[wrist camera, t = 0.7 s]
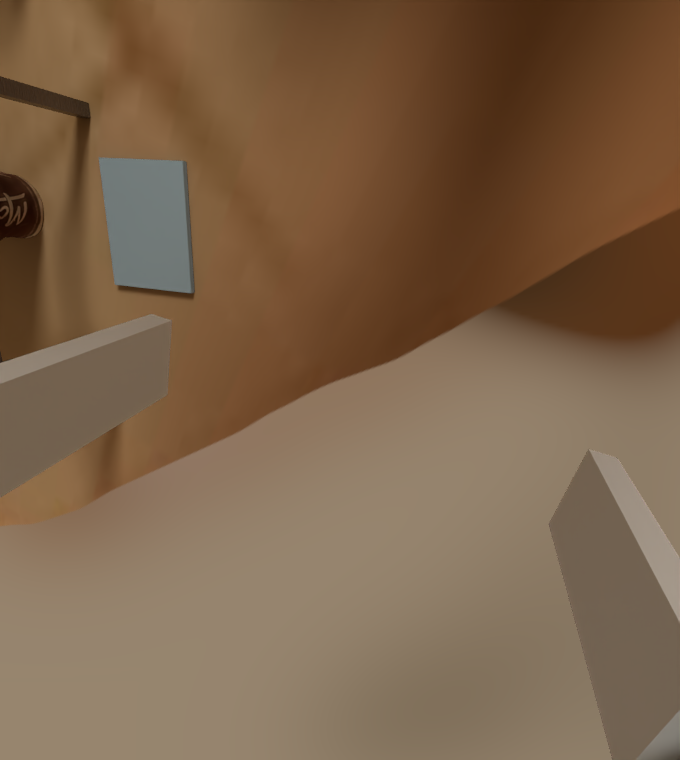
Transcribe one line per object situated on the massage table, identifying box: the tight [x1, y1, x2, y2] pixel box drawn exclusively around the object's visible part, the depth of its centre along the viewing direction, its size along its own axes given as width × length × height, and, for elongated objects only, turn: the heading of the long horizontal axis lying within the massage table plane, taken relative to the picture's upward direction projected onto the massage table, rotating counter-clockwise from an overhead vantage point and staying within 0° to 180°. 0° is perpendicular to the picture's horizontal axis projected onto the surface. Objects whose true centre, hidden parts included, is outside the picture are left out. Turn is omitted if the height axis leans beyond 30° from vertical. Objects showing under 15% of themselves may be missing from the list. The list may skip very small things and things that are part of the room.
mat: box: [99, 158, 194, 293], centre depth 43 cm, size 12×9×1 cm
